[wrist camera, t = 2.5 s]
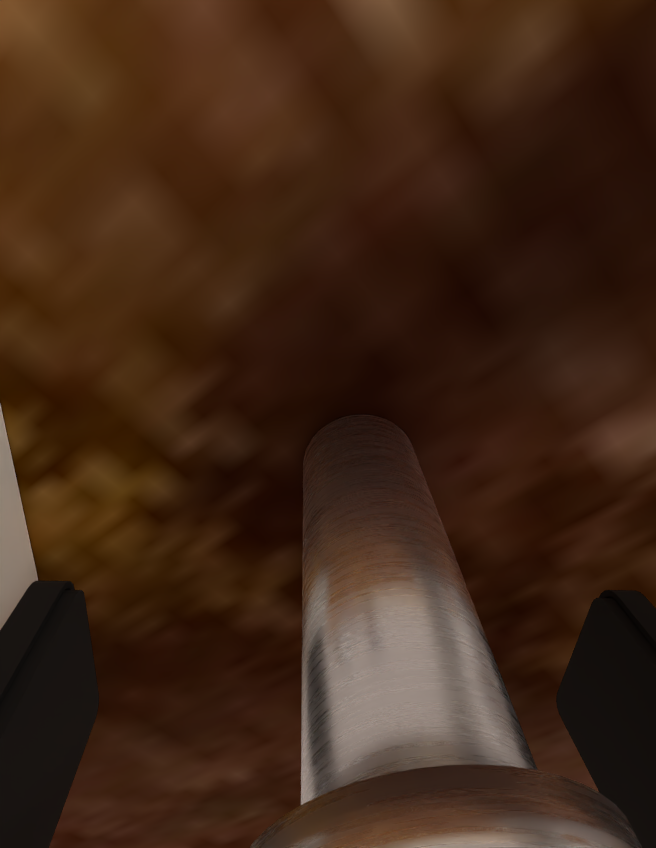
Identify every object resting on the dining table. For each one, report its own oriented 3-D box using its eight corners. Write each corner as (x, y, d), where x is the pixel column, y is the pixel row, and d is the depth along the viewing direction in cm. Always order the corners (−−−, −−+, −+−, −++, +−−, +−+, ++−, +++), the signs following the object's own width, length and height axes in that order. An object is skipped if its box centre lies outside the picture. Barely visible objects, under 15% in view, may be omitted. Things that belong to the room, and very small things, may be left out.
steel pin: (280, 383, 13) (220, 906, 4) (455, 394, 13) (790, 900, 4) (273, 527, 15) (223, 1098, 6) (425, 533, 15) (606, 1084, 6)
